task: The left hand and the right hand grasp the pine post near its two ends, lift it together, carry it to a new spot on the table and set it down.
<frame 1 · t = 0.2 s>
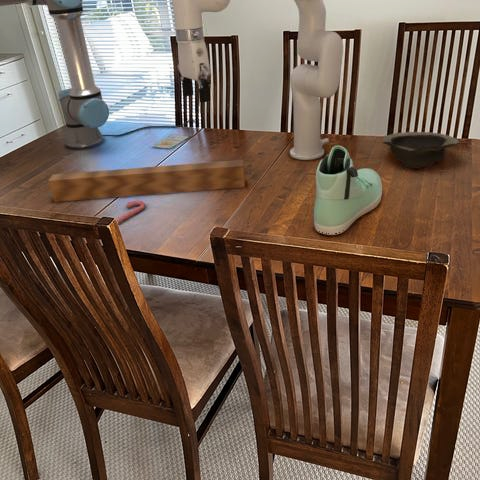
right hand: (196, 98, 139), 30 cm above the table, tool pointing down, fingers open, 9 cm apart
baking ingredient package: (171, 142, 198), on the table
candy cane: (127, 215, 145), on the table
stone bowl: (416, 159, 166), on the table
sneaker: (348, 208, 139), on the table
post: (150, 191, 159), on the table
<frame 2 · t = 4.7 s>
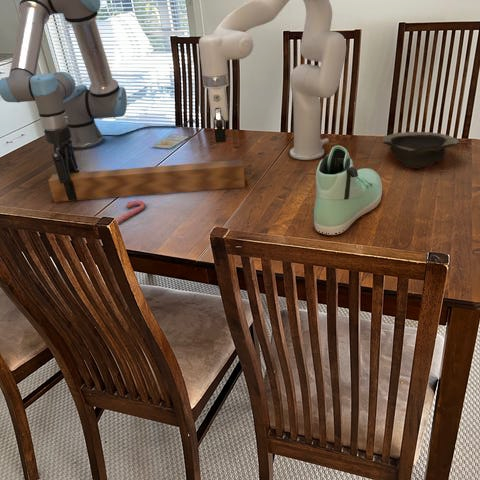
left hand: (75, 195, 158), 1 cm above the table, tool pointing down, fingers closed on post, 5 cm apart
right hand: (221, 136, 150), 17 cm above the table, tool pointing down, fingers open, 9 cm apart
post: (150, 191, 159), on the table, touching left hand
everything else where it was.
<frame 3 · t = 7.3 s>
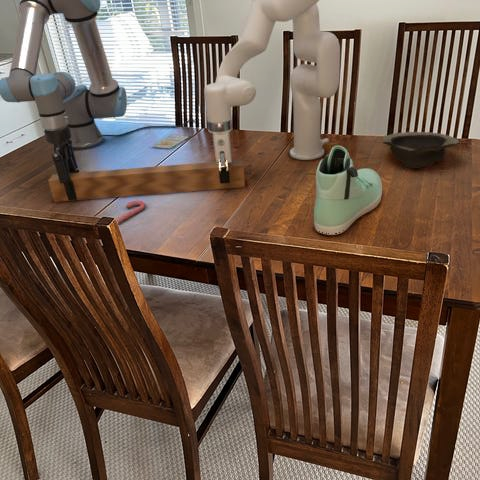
left hand: (75, 195, 158), 1 cm above the table, tool pointing down, fingers closed on post, 5 cm apart
right hand: (224, 178, 157), 2 cm above the table, tool pointing down, fingers closed on post, 5 cm apart
post: (150, 191, 159), on the table, touching left hand, right hand
everything else where it was.
when the left hand's fingers open (2 cm above the table, at t = 12.6 s): post moves 1 cm, on the table.
when the right hand's fingers open (3 cm above the table, at t = 12.7 s): post stays where it is, on the table.
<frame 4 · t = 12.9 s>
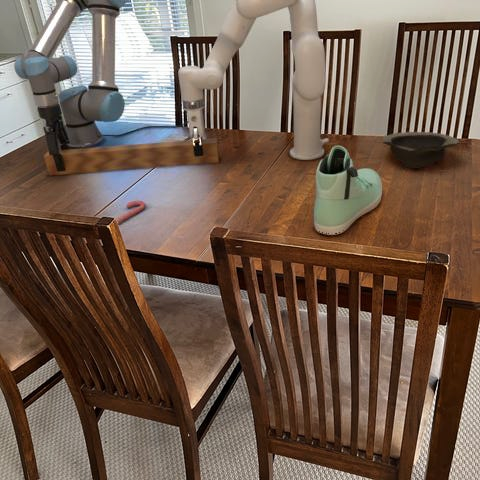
left hand: (64, 166, 177), 2 cm above the table, tool pointing down, fingers open, 8 cm apart
right hand: (199, 152, 176), 4 cm above the table, tool pointing down, fingers open, 6 cm apart
post: (134, 166, 178), on the table
everything else where it was.
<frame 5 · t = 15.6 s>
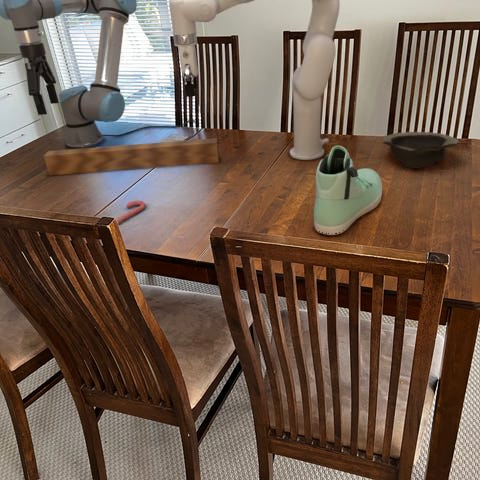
left hand: (49, 108, 166), 24 cm above the table, tool pointing down, fingers open, 13 cm apart
right hand: (191, 92, 165), 25 cm above the table, tool pointing down, fingers open, 9 cm apart
nothing on the table moved.
at the end: post inside the target area (0.6 cm from its centre), on the table; post tilted 0°; post never tilted more than 1° during the clip; both hands held the post at the same time; the left hand is holding nothing; the right hand is holding nothing; post at rest at the end (0.0 cm/s) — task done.
